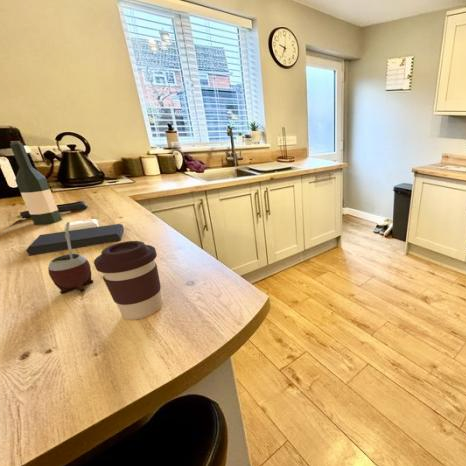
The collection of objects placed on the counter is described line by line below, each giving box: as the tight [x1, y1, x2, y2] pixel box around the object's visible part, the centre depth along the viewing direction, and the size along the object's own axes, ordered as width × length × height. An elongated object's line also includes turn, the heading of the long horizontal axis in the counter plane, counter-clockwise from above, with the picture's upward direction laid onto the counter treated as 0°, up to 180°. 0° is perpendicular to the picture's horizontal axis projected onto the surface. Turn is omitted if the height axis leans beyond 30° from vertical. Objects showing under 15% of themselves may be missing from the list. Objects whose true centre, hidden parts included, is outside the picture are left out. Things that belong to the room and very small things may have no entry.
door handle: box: [19, 200, 88, 219], centre depth 124 cm, size 3×20×16 cm
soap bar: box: [63, 218, 99, 232], centre depth 105 cm, size 5×9×3 cm, turn 129°
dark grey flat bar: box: [26, 223, 125, 257], centre depth 95 cm, size 22×12×2 cm, turn 122°
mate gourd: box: [47, 221, 94, 295], centre depth 68 cm, size 8×8×15 cm
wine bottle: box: [9, 140, 63, 226], centre depth 107 cm, size 8×8×30 cm
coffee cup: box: [93, 240, 163, 321], centre depth 59 cm, size 10×10×15 cm
